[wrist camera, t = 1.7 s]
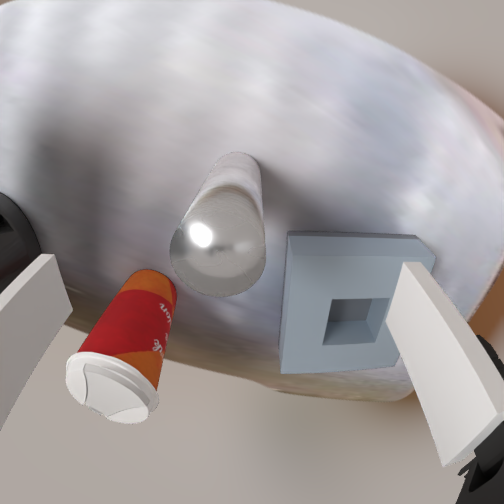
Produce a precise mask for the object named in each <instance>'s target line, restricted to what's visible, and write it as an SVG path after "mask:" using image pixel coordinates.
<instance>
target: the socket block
mask: <svg viewBox="0 0 504 504" xmlns="http://www.w3.org/2000/svg"><path fill="white" fill-rule="evenodd" d="M435 259H436V256H435V255H434V254H433V253H432V252H431V251H430V250H429V249H428V248H427V247H426V246H425V245H424V244H423V243H422V242H421V241H420V240H419V238H418V237H417V236H416V235H402V234H376V233H347V232H311V231H288V232H287V246H286V260H285V274H284V286H283V298H282V310H281V321H280V332H279V343H278V345H279V359H280V372H281V374H298V373H323V372H339V371H352V370H364V369H374V368H383V367H392V366H395V364H396V362H397V360H398V357H399V355H400V353H399V350H398V348H397V346H396V343H395V341H394V339H393V337H392V335H391V332H390V330H389V328H388V326H387V324H386V322H385V321H386V318H387V315H388V312H389V309H390V306H391V303H392V299H393V296H394V293H395V290H396V286H397V283H398V279H399V276H400V272H401V268H402V265H403V262H421V263H422V264H423V266H424V267H425V268H426V269H427V271H428V272H429V273H430V274H431V272H432V269H433V266H434V262H435Z"/></svg>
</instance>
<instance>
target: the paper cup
mask: <svg viewBox="0 0 504 504" xmlns="http://www.w3.org/2000/svg"><path fill="white" fill-rule="evenodd" d="M176 299H177V293H176V289H175V287H174V285H173V283H172V282H171V281H170V280H169V279H168V278H167V277H166V276H165V275H163V274H162V273H160V272H157V271H154V270H149V269H144V270H139V271H137V272H135V273H134V274H132V275H131V276H130V278H129V279H128V280H127V281H126V282H125V284H124V285H123V286H122V288H121V289H120V290H119V292H118V293H117V295H116V296H115V297H114V299H113V300H112V301H111V303H110V304H109V306H108V307H107V309H106V310H105V311H104V313H103V314H102V316H101V317H100V319H99V320H98V322H97V323H96V324H95V326H94V327H93V329H92V330H91V332H90V333H89V335H88V337H87V338H86V339H85V341H84V343H83V344H82V346H81V347H80V349H79V350H78V352H77V353H75V354H73V355H72V356H70V357H69V359H68V360H67V363H66V371H67V374H66V385H67V388H68V390H69V391H70V393H71V394H72V396H73V397H74V398H75V399H76V400H77V401H78V402H79V403H80V404H82V405H83V404H84V402H86V403H85V405H87V406H89V409H90V410H92V411H94V412H95V413H98V414H99V415H101V414H103V415H105V416H107V417H106V419H109V420H111V421H115V422H120V423H127V424H134V423H140V422H142V421H144V420H146V419H147V418H148V417H149V415H150V413H151V412H153V411H154V410H155V409H156V408H157V406H158V402H159V398H158V394H157V387H158V382H159V377H160V372H161V368H162V363H163V358H164V354H165V349H166V345H167V340H168V336H169V332H170V327H171V323H172V319H173V314H174V310H175V305H176Z"/></svg>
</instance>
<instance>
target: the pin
mask: <svg viewBox="0 0 504 504" xmlns="http://www.w3.org/2000/svg"><path fill="white" fill-rule="evenodd" d="M170 259H171V263H172V266H173V268H174V270H175V272H176V274H177V275H178V277H179V278H180V279H181V280H182V281H183V282H184V283H185V284H186V285H187V286H189V287H190V288H191V289H193V290H195V291H197V292H199V293H201V294H205V295H208V296H214V297H227V296H233V295H237V294H239V293H242V292H244V291H246V290H247V289H249V288H250V287H252V286H253V285H254V284H255V283H256V282H257V280H258V279H259V278H260V276H261V275H262V272H263V270H264V267H265V263H266V248H265V232H264V216H263V201H262V186H261V172H260V168H259V166H258V164H257V162H256V161H255V160H254V159H253V158H252V157H251V156H249V155H248V154H245V153H242V152H231V153H228V154H225V155H224V156H222V157H221V158H220V159H219V160H218V161H217V162H216V164H215V165H214V167H213V169H212V170H211V172H210V174H209V175H208V177H207V178H206V180H205V182H204V183H203V185H202V187H201V188H200V190H199V192H198V193H197V195H196V197H195V198H194V200H193V202H192V204H191V205H190V207H189V209H188V211H187V212H186V214H185V216H184V217H183V219H182V221H181V223H180V225H179V226H178V228H177V230H176V232H175V233H174V235H173V238H172V240H171V244H170Z"/></svg>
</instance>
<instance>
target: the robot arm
mask: <svg viewBox="0 0 504 504" xmlns="http://www.w3.org/2000/svg"><path fill="white" fill-rule="evenodd" d="M72 311H73V309H72V306H71V303H70V301H69V298H68V295H67V292H66V289H65V286H64V283H63V280H62V277H61V274H60V271H59V267H58V264H57V261H56V257H55V254H41V250H40V247H39V244H38V241H37V238H36V236H35V234H34V231H33V229H32V227H31V225H30V224H29V222H28V220H27V219H26V217H25V216H24V214H23V213H22V212H21V210H20V209H19V208H18V207H17V206H16V205H15V203H13V202H12V201H11V200H10V199H9V198H8V197H6V196H5V195H3V194H1V193H0V431H1V429H2V427H3V425H4V423H5V421H6V419H7V417H8V415H9V413H10V411H11V409H12V407H13V406H14V404H15V402H16V400H17V398H18V396H19V395H20V393H21V391H22V389H23V387H24V386H25V384H26V382H27V381H28V379H29V377H30V375H31V374H32V372H33V371H34V368H35V367H36V366H37V364H38V362H39V361H40V359H41V357H42V356H43V354H44V353H45V351H46V349H47V348H48V346H49V345H50V343H51V342H52V340H53V339H54V337H55V336H56V334H57V333H58V331H59V330H60V328H61V327H62V325H63V324H64V322H65V321H66V320H67V318H68V317H69V315H70V314H71V312H72ZM385 322H386V324H387V326H388V328H389V330H390V332H391V335H392V337H393V339H394V341H395V343H396V346H397V348H398V350H399V353H400V355H401V357H402V359H403V362H404V364H405V366H406V369H407V371H408V374H409V376H410V378H411V381H412V383H413V386H414V388H415V391H416V393H417V396H418V398H419V401H420V404H421V406H422V409H423V412H424V414H425V417H426V420H427V422H428V425H429V428H430V431H431V434H432V436H433V439H434V442H435V445H436V448H437V451H438V454H439V457H440V460H441V464H442V467H445V466H448V465H451V464H454V463H456V462H459V461H461V460H463V459H464V458H466V457H467V456H468V455H469V454H470V453H471V452H472V451H473V450H474V452H475V455H476V457H475V458H474V459H473V460H472V461H470V462H469V463H468V464H467V465H466V466H464V467H463V468H462V469H461V470H460V472H459V473H458V475H459V476H461V475H462V474H463V473H465V472H466V471H467V470H468V469H469V471H468V473H467V474H466V475H465V476H464V477H465V478H466V479H465V482H464V484H463V487H462V489H461V492H460V494H459V497H458V499H457V502H456V504H504V364H503V363H502V361H501V360H500V359H498V355H497V354H496V352H495V350H494V349H493V347H492V346H491V344H489V343H488V342H487V341H486V340H485V339H484V338H483V337H481V336H480V335H475V334H474V332H473V331H472V330H471V328H470V327H469V325H468V324H467V322H466V321H465V319H464V318H463V317H462V315H461V314H460V312H459V311H458V310H457V308H456V307H455V306H454V304H453V303H452V301H451V300H450V299H449V297H448V296H447V295H446V294H445V292H444V291H443V290H442V288H441V287H440V286H439V284H438V283H437V282H436V281H435V279H434V278H433V277H432V276H431V274H430V273H429V272H428V271H427V269H426V268H425V267H424V266H423V264H422V263H421V262H403V265H402V268H401V272H400V276H399V279H398V283H397V286H396V290H395V293H394V296H393V299H392V303H391V306H390V309H389V312H388V315H387V318H386V321H385Z"/></svg>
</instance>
